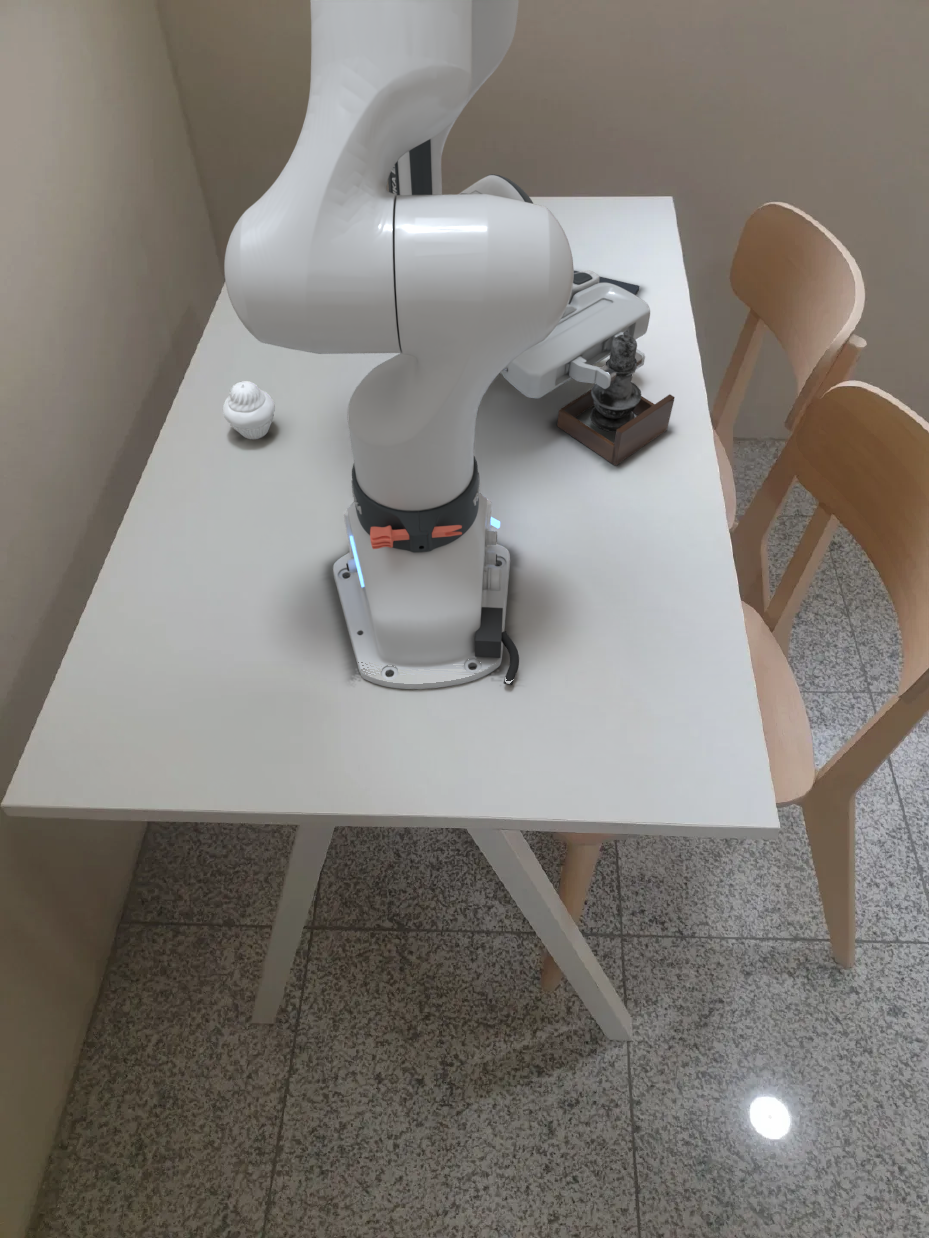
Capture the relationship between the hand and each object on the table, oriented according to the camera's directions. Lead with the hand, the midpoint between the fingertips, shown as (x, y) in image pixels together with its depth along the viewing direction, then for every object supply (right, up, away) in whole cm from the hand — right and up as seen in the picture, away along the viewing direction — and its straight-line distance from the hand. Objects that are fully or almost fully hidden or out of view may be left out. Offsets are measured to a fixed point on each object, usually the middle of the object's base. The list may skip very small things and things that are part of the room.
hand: (626, 372), depth 95 cm
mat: (-1, +17, +24) cm, 29 cm away
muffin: (-44, -5, +8) cm, 45 cm away
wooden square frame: (-1, -5, +8) cm, 9 cm away
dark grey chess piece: (-1, -4, +6) cm, 7 cm away
